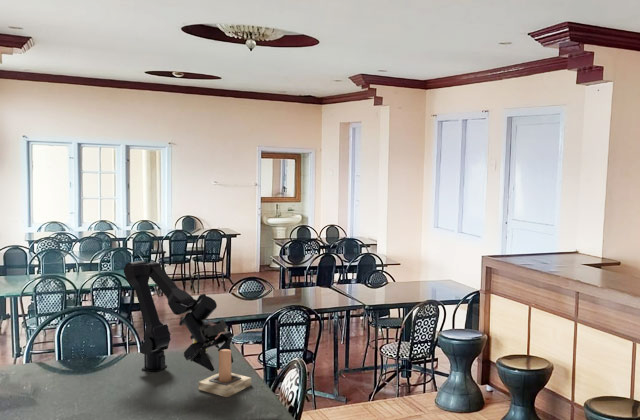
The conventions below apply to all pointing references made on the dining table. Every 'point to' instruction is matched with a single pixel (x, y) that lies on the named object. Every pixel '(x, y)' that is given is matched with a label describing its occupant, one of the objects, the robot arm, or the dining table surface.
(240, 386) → the socket block
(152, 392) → the dining table surface
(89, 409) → the dining table surface
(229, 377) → the peg
